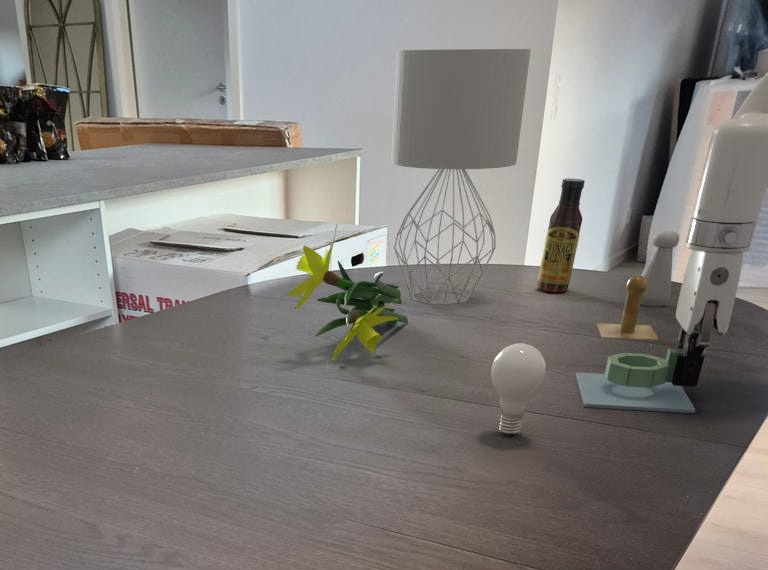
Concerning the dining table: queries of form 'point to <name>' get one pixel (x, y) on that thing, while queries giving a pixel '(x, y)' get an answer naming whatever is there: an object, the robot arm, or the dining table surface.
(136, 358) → the dining table surface
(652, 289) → the salt shaker
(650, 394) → the mat
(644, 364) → the ring
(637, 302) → the peg stand
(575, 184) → the sauce bottle
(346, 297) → the daffodil flowers
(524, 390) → the lightbulb
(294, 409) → the dining table surface
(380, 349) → the dining table surface
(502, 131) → the table lamp
